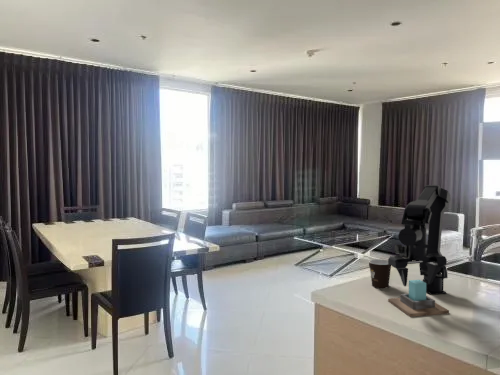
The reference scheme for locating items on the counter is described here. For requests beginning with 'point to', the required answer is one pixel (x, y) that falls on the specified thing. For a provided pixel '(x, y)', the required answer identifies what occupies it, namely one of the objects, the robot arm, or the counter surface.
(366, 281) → the counter surface
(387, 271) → the coffee mug
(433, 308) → the well block
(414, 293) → the teal post
